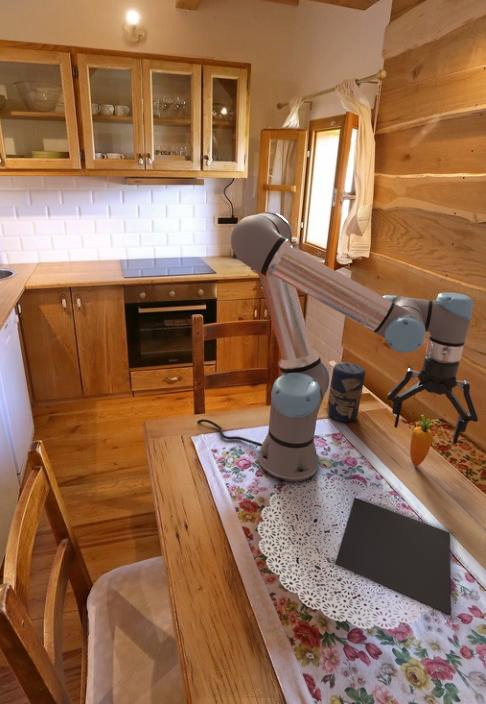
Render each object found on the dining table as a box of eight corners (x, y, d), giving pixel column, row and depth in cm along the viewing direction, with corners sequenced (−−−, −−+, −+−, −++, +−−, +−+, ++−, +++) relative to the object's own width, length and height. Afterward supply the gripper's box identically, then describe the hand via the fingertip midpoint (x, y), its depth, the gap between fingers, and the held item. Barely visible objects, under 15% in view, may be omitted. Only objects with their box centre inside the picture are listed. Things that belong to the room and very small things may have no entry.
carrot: (427, 474, 105) (440, 424, 100) (407, 470, 106) (419, 421, 101) (422, 461, 110) (434, 413, 105) (403, 458, 110) (414, 411, 105)
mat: (335, 563, 79) (335, 563, 79) (354, 497, 96) (354, 497, 96) (450, 615, 71) (450, 614, 71) (449, 532, 88) (449, 532, 88)
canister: (327, 421, 126) (335, 369, 120) (325, 405, 135) (332, 356, 129) (359, 425, 124) (369, 373, 118) (354, 409, 133) (363, 359, 127)
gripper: (385, 351, 99) (371, 425, 106) (506, 376, 88) (482, 456, 96) (388, 341, 106) (375, 412, 113) (502, 363, 95) (479, 440, 102)
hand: (424, 432), depth 104 cm, fingers open, 13 cm apart
